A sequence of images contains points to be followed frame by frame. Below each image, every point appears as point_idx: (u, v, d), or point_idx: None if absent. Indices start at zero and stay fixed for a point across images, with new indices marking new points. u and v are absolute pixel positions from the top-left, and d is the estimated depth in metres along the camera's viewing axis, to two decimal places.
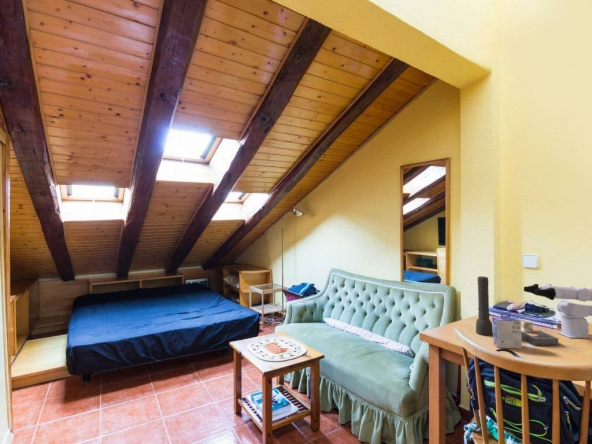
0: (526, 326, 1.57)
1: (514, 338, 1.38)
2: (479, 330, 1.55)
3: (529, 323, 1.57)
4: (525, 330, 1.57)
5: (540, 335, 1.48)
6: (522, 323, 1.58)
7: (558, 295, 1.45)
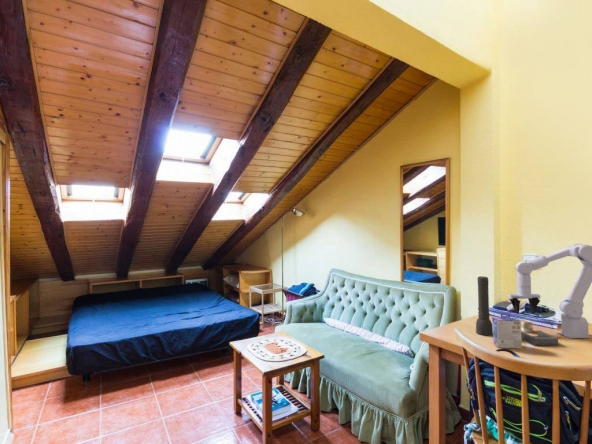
0: (526, 326, 1.57)
1: (514, 338, 1.38)
2: (479, 330, 1.55)
3: (529, 323, 1.57)
4: (525, 330, 1.57)
5: (540, 335, 1.48)
6: (522, 323, 1.58)
7: (509, 297, 1.59)
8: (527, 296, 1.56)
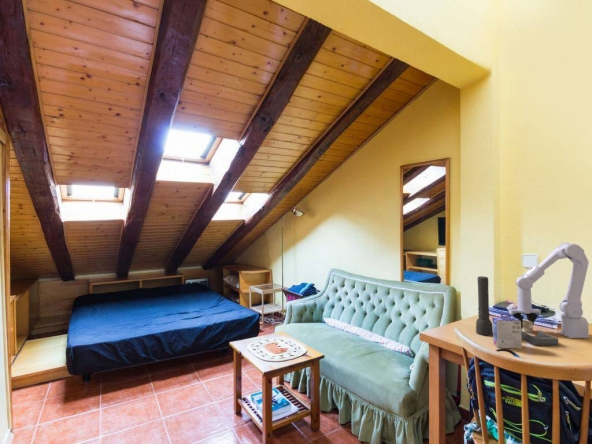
0: (526, 326, 1.57)
1: (514, 338, 1.38)
2: (479, 330, 1.55)
3: (529, 323, 1.57)
4: (525, 330, 1.57)
5: (540, 335, 1.48)
6: (522, 323, 1.58)
7: (510, 312, 1.59)
8: (527, 311, 1.56)
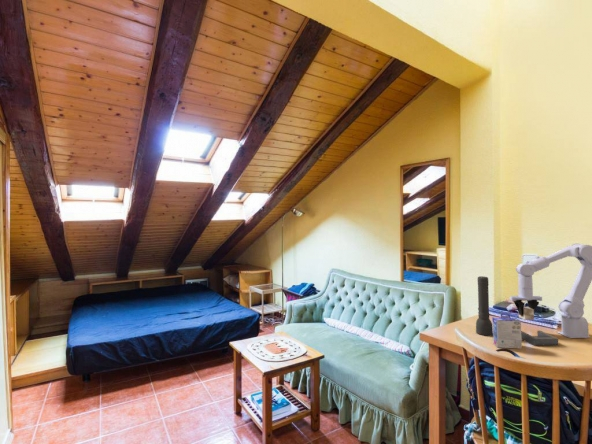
0: (527, 313, 1.55)
1: (514, 338, 1.38)
2: (479, 330, 1.55)
3: (530, 310, 1.55)
4: (526, 317, 1.55)
5: (540, 335, 1.48)
6: (523, 310, 1.56)
7: (511, 299, 1.57)
8: (529, 298, 1.54)
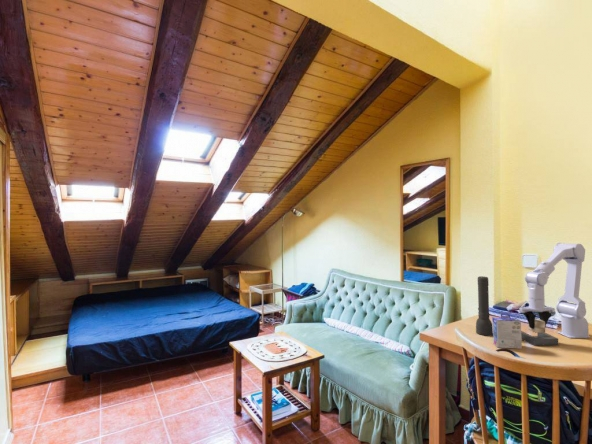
0: (538, 325, 1.43)
1: (514, 338, 1.38)
2: (479, 330, 1.55)
3: (541, 323, 1.43)
4: (537, 330, 1.43)
5: (540, 335, 1.48)
6: None
7: (521, 311, 1.45)
8: (540, 310, 1.42)
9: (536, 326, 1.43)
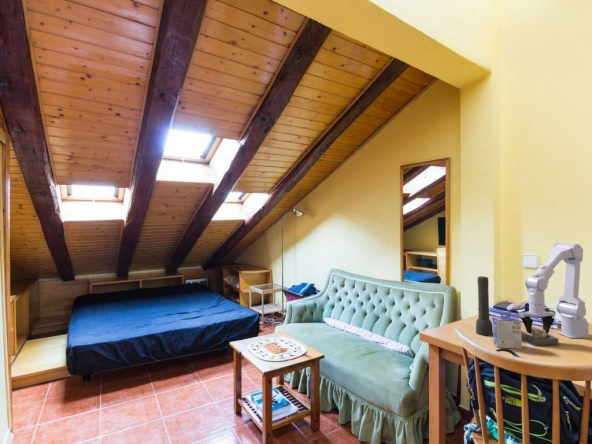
0: (538, 334, 1.43)
1: (514, 338, 1.38)
2: (479, 330, 1.55)
3: (542, 332, 1.43)
4: None
5: None
6: (534, 331, 1.44)
7: (521, 316, 1.45)
8: (540, 315, 1.42)
9: (536, 335, 1.43)
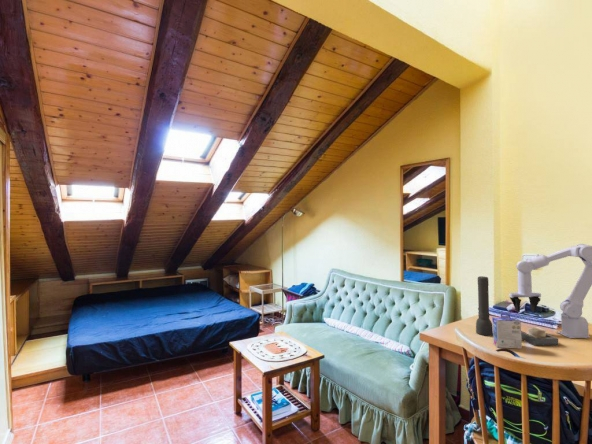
0: (538, 334, 1.43)
1: (514, 338, 1.38)
2: (479, 330, 1.55)
3: (542, 332, 1.43)
4: None
5: None
6: (534, 331, 1.44)
7: (510, 296, 1.60)
8: (528, 295, 1.57)
9: (536, 335, 1.43)
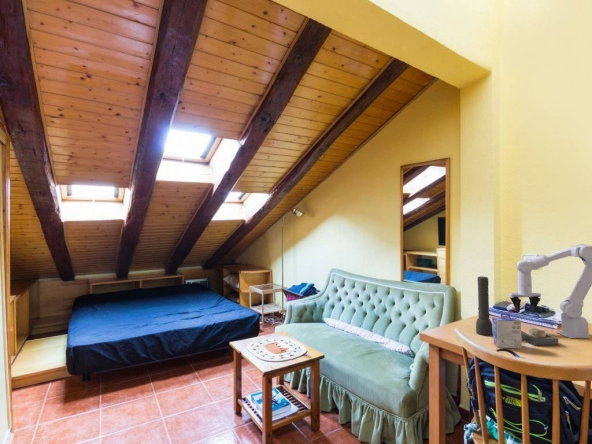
0: (538, 334, 1.43)
1: (514, 338, 1.38)
2: (479, 330, 1.55)
3: (542, 332, 1.43)
4: None
5: None
6: (534, 331, 1.44)
7: (510, 296, 1.60)
8: (528, 295, 1.57)
9: (536, 335, 1.43)
